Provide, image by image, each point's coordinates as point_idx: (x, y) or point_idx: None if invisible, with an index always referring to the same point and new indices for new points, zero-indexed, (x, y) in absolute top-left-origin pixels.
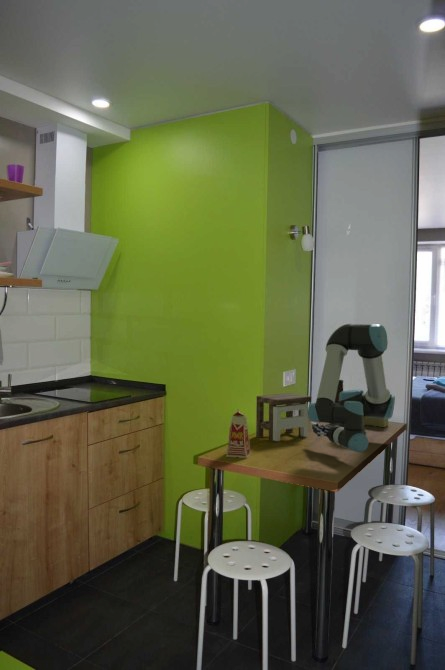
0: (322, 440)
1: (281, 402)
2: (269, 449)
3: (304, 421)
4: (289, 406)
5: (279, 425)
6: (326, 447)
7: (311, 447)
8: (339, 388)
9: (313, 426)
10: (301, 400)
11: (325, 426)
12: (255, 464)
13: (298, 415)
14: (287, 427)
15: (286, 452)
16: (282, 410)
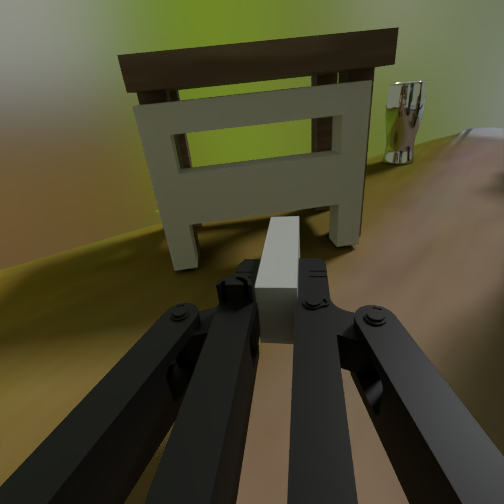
0: (413, 295)
1: (155, 71)
2: (18, 354)
3: (343, 180)
4: (231, 99)
5: (178, 204)
6: (375, 446)
7: (257, 400)
8: None
9: (158, 320)
10: (318, 56)
11: (314, 373)
12: None
13: (406, 145)
14: (233, 211)
15: None
16: (181, 124)
